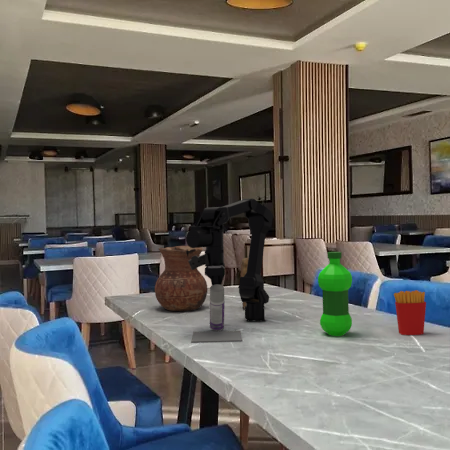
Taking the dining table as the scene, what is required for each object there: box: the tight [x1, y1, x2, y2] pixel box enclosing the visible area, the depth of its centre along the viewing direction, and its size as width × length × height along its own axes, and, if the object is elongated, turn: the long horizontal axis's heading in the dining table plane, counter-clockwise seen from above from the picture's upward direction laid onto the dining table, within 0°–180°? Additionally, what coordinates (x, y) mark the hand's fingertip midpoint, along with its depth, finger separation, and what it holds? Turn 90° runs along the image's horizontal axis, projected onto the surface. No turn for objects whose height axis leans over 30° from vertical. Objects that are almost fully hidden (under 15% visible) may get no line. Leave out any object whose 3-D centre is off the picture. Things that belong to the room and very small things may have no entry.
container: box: [209, 284, 225, 331], centre depth 168 cm, size 5×5×15 cm
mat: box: [190, 329, 243, 344], centre depth 161 cm, size 15×13×1 cm
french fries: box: [393, 289, 427, 336], centre depth 159 cm, size 9×4×13 cm, turn 92°
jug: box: [154, 245, 209, 312], centre depth 212 cm, size 22×21×25 cm
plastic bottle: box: [317, 251, 353, 337], centre depth 160 cm, size 10×10×25 cm
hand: (215, 294), depth 169 cm, fingers closed
